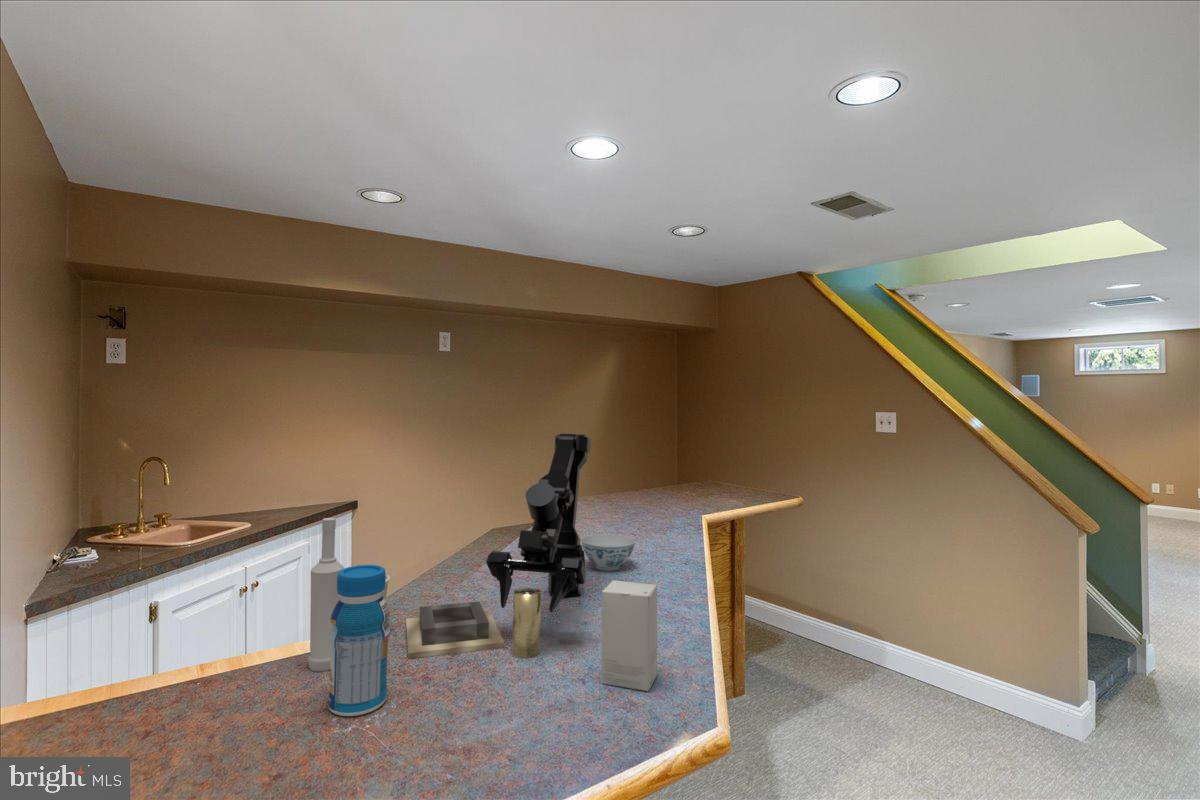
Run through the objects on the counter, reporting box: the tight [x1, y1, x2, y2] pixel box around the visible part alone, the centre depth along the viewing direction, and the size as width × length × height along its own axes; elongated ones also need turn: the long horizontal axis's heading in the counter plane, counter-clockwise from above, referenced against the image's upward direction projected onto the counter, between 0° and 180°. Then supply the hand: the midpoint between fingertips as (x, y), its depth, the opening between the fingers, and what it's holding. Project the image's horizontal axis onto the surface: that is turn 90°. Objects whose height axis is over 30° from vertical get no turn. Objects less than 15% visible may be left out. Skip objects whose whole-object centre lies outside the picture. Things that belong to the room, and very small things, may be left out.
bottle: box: [307, 517, 345, 672], centre depth 99 cm, size 5×5×25 cm
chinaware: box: [581, 533, 636, 572], centre depth 162 cm, size 15×15×8 cm
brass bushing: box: [511, 587, 542, 659], centre depth 106 cm, size 5×5×11 cm
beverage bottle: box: [327, 564, 391, 717], centre depth 87 cm, size 8×8×20 cm
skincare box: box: [601, 580, 658, 692], centre depth 96 cm, size 8×7×16 cm
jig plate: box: [405, 601, 505, 660], centre depth 113 cm, size 17×17×4 cm
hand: (526, 609), depth 106 cm, fingers open, 9 cm apart
